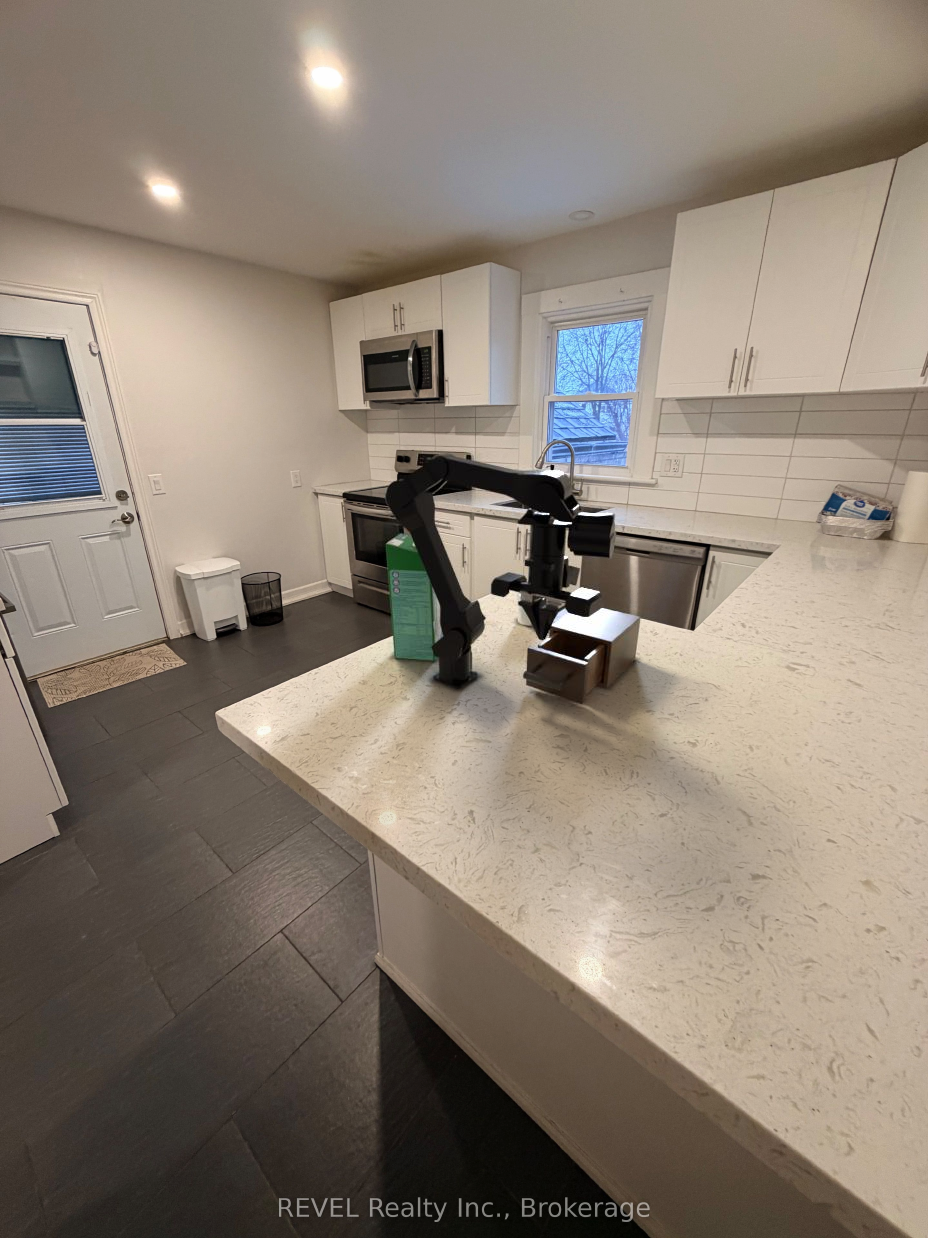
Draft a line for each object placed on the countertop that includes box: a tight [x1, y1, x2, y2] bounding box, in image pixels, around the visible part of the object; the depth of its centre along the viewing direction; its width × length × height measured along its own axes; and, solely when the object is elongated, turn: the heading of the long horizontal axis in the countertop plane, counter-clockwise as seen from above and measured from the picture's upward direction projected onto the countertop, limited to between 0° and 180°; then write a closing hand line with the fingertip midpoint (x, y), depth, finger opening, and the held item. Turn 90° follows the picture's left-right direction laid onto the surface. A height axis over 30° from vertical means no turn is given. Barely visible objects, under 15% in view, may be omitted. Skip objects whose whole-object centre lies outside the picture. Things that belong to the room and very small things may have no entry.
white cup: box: [515, 592, 533, 627], centre depth 121 cm, size 7×7×7 cm
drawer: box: [522, 631, 607, 705], centre depth 90 cm, size 18×11×8 cm, turn 142°
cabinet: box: [548, 607, 642, 689], centre depth 99 cm, size 15×13×10 cm
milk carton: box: [385, 533, 443, 662], centre depth 104 cm, size 9×9×25 cm
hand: (542, 639), depth 86 cm, fingers closed
